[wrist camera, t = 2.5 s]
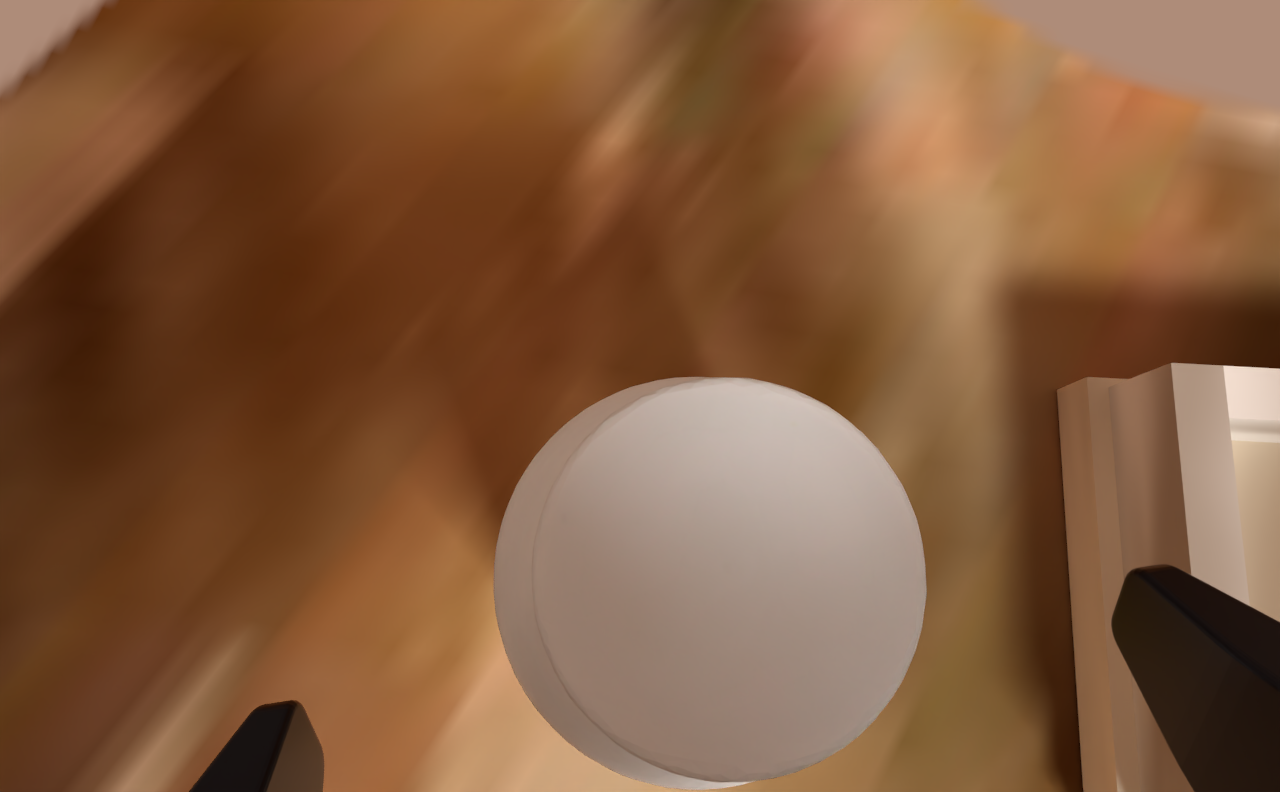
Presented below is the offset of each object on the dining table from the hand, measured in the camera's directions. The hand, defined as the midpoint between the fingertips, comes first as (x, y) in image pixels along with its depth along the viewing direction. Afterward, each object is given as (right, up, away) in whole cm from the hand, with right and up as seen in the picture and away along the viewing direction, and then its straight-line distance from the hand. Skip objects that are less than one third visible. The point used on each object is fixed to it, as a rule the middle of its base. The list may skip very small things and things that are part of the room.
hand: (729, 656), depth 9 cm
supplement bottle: (-1, -1, +9) cm, 9 cm away
